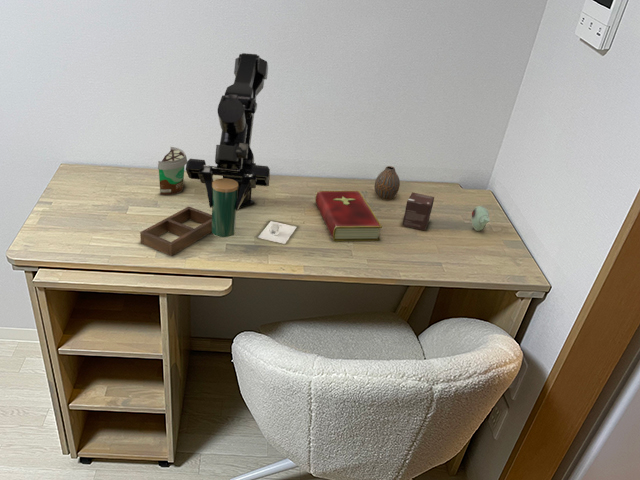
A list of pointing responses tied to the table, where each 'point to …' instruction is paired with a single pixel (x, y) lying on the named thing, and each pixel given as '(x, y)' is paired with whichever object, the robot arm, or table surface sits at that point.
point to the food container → (172, 172)
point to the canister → (224, 207)
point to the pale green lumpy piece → (480, 217)
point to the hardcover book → (348, 216)
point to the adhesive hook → (277, 232)
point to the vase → (387, 183)
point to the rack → (177, 231)
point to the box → (418, 211)
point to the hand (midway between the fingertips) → (223, 208)
